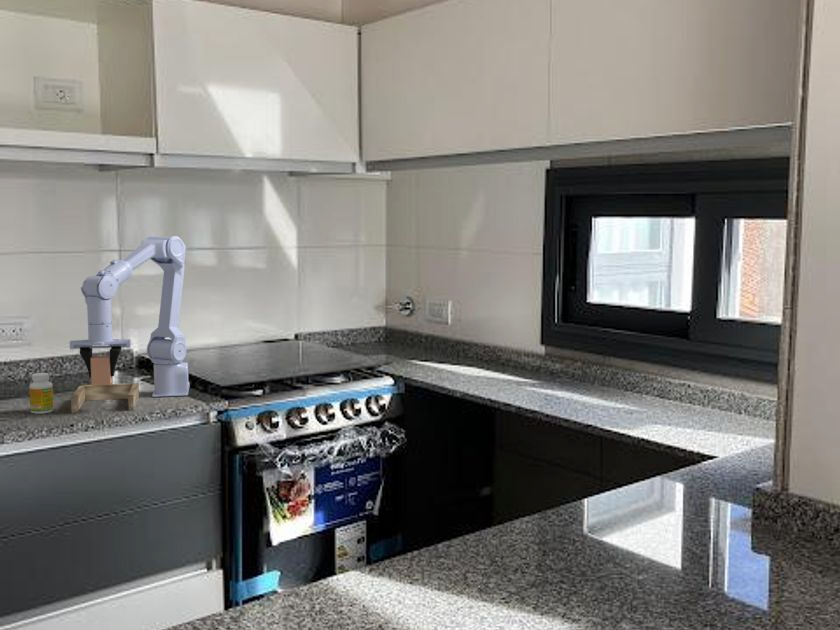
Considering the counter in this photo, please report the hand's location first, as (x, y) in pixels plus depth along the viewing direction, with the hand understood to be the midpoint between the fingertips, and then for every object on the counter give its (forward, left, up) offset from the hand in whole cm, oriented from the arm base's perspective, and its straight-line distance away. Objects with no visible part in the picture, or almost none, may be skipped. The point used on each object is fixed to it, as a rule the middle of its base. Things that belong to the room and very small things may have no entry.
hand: (101, 376), depth 222 cm
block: (0, 0, -2) cm, 2 cm away
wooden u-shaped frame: (0, -7, -9) cm, 11 cm away
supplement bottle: (+15, -2, -9) cm, 18 cm away
